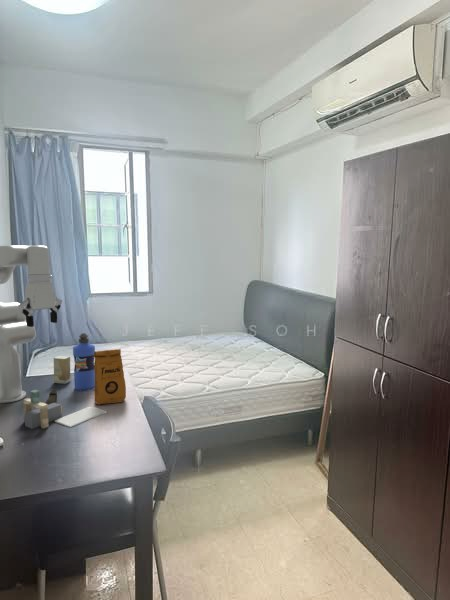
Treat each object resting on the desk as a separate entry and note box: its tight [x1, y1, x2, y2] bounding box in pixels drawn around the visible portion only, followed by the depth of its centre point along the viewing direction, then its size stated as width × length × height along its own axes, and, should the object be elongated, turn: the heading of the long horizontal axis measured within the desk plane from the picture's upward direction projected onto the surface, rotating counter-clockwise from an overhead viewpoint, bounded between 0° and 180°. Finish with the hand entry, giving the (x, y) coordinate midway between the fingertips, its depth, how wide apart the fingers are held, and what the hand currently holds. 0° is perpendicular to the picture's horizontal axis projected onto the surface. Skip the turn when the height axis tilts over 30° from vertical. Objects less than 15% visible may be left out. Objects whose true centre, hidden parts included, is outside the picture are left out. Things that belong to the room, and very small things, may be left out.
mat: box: [54, 406, 107, 428], centre depth 152 cm, size 9×16×1 cm, turn 148°
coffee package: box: [93, 348, 127, 405], centre depth 167 cm, size 10×12×22 cm
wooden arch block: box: [22, 389, 49, 430], centre depth 145 cm, size 12×2×12 cm, turn 58°
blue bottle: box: [72, 333, 96, 392], centre depth 183 cm, size 9×9×25 cm
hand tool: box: [44, 388, 58, 405], centre depth 163 cm, size 19×4×5 cm, turn 11°
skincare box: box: [53, 355, 71, 385], centre depth 191 cm, size 6×4×12 cm
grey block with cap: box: [24, 402, 64, 430], centre depth 149 cm, size 4×13×5 cm, turn 148°
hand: (42, 324), depth 152 cm, fingers open, 9 cm apart
